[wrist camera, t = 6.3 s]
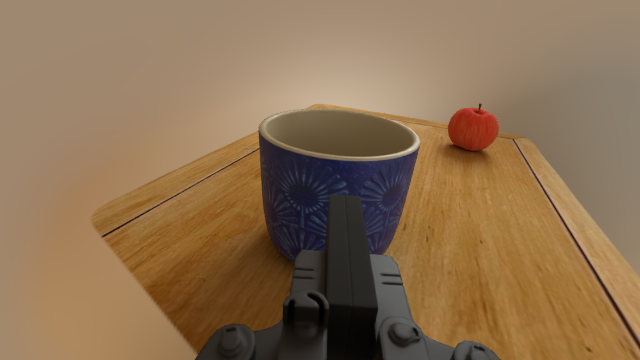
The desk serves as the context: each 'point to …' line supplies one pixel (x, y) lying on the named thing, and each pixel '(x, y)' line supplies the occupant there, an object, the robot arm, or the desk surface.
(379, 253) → the planter
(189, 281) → the desk surface
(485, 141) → the apple
